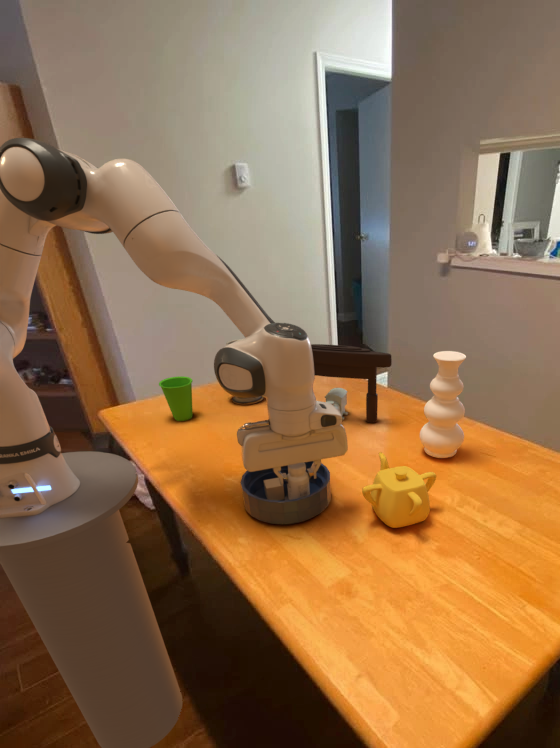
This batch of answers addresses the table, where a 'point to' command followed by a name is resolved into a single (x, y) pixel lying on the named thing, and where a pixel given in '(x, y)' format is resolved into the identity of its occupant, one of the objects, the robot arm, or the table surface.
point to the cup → (178, 396)
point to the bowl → (286, 508)
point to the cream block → (274, 489)
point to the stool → (350, 372)
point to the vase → (444, 408)
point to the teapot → (399, 494)
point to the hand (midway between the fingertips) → (298, 480)
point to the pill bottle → (297, 481)
